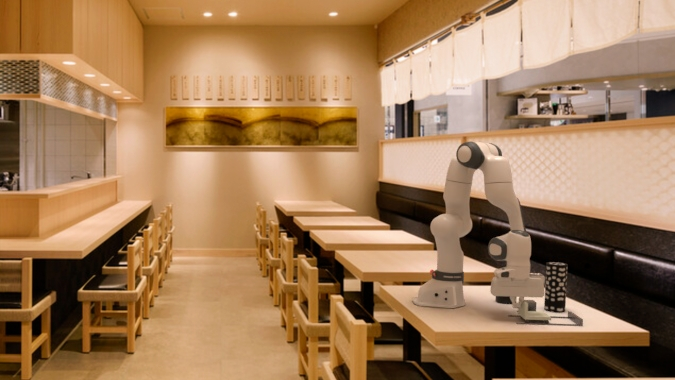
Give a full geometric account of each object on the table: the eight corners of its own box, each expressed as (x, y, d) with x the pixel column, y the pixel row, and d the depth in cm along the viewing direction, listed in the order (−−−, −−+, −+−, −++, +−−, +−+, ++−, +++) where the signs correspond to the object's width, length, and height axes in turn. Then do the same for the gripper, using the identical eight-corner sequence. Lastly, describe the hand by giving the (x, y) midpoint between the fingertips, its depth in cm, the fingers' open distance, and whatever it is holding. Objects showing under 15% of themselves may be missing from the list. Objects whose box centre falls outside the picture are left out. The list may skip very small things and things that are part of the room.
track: (516, 325, 244) (517, 317, 244) (507, 316, 256) (508, 309, 256) (582, 327, 244) (583, 319, 244) (570, 318, 256) (570, 311, 256)
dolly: (524, 323, 246) (525, 303, 245) (517, 317, 255) (518, 298, 254) (550, 324, 246) (551, 304, 245) (543, 318, 255) (544, 299, 254)
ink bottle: (519, 305, 278) (521, 278, 277) (499, 305, 277) (501, 277, 276) (511, 300, 287) (512, 273, 287) (492, 300, 286) (493, 273, 286)
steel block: (524, 314, 260) (525, 302, 260) (521, 311, 264) (522, 299, 264) (535, 314, 260) (536, 302, 260) (532, 312, 264) (533, 300, 264)
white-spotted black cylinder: (562, 314, 264) (565, 266, 263) (541, 311, 268) (544, 263, 267) (567, 310, 271) (569, 263, 270) (546, 307, 275) (549, 261, 274)
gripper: (542, 271, 252) (540, 306, 253) (490, 270, 252) (488, 305, 253) (547, 274, 246) (545, 310, 247) (494, 273, 246) (492, 308, 247)
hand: (516, 307), depth 250 cm, fingers closed
